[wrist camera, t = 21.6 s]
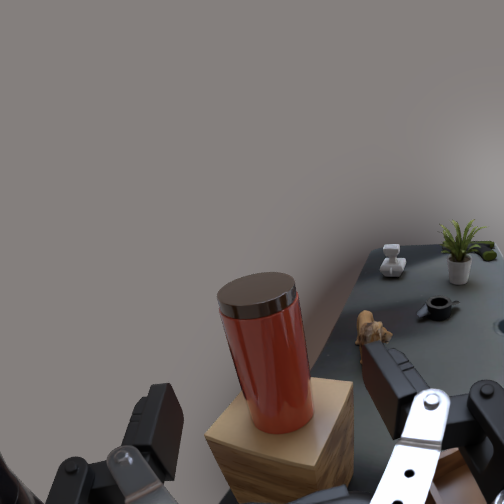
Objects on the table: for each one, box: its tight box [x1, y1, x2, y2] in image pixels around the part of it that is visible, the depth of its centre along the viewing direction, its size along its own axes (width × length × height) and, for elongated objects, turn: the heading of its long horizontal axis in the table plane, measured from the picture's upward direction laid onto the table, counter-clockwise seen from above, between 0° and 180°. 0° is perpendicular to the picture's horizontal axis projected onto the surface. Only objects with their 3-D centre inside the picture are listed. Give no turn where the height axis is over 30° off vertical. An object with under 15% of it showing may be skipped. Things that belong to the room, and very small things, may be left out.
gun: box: [442, 241, 497, 261], centre depth 84 cm, size 2×19×15 cm
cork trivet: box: [204, 377, 353, 470], centre depth 26 cm, size 10×10×1 cm
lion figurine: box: [355, 310, 393, 364], centre depth 55 cm, size 15×5×9 cm, turn 179°
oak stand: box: [206, 387, 354, 504], centre depth 28 cm, size 10×10×16 cm
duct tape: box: [416, 296, 460, 321], centre depth 60 cm, size 8×10×3 cm
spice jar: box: [217, 272, 315, 434], centre depth 24 cm, size 6×6×12 cm
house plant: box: [440, 220, 485, 285], centre depth 68 cm, size 14×14×16 cm
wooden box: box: [424, 448, 487, 504], centre depth 19 cm, size 18×14×6 cm
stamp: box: [380, 244, 406, 277], centre depth 84 cm, size 9×7×8 cm
